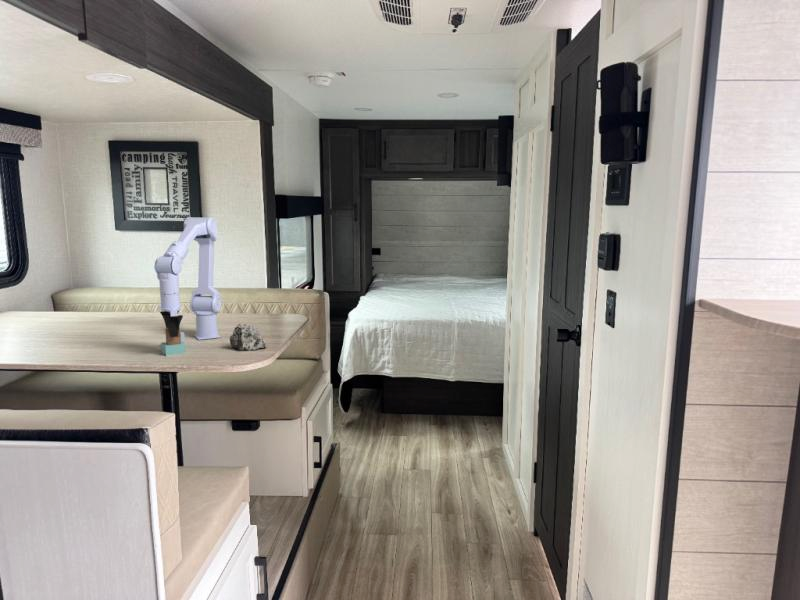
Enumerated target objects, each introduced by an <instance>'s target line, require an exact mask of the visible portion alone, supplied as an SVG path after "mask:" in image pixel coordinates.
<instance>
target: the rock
mask: <svg viewBox="0 0 800 600" xmlns="http://www.w3.org/2000/svg"><path fill="white" fill-rule="evenodd" d="M229 344H230V346H231V347H232V348H235V349H237V350H238V351H241V350H243V351H246V350H251V351H255V350H259V349H263V348H267V347H268V346H267V343H266V341H265V339H264V337H263V336H262V335H261V333H260V332H259V330H258V328H257V327H256V326H252V325H248V324H246V323H244V324H242V323H239V324H238V325H236V326H235V327H234V330H232V335H230V336H229Z"/></svg>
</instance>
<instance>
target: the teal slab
mask: <svg viewBox="0 0 800 600" xmlns="http://www.w3.org/2000/svg"><path fill="white" fill-rule="evenodd" d="M160 344H161V345H160V346H161V347H160V348H161V353H162V352H163V353H164V354H165V355H166V357H168V356H167V355H171V356H174V355H173V354H178V355H181V354H180V353H185V354H186V342H185V343H183V342H182V341H181V344H175V345H167V343H166V341H163V342H160ZM163 353H162V354H163ZM164 354H163V355H164ZM165 355H164V356H165Z"/></svg>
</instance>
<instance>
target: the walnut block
mask: <svg viewBox="0 0 800 600" xmlns="http://www.w3.org/2000/svg"><path fill="white" fill-rule="evenodd" d="M164 330H165V331H164V332H165V342H166V343H167V345H175V344H181V334H180V332H181V328H180V327H179V333H178V337H171V336H170V333H169V329H168V328H166V327H165V329H164Z"/></svg>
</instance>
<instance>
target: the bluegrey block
mask: <svg viewBox="0 0 800 600" xmlns="http://www.w3.org/2000/svg"><path fill="white" fill-rule="evenodd" d="M180 334H181V341H182V342H183V343H185V344H186V338H185V337H186V336H185V332H183V331H180Z"/></svg>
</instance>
